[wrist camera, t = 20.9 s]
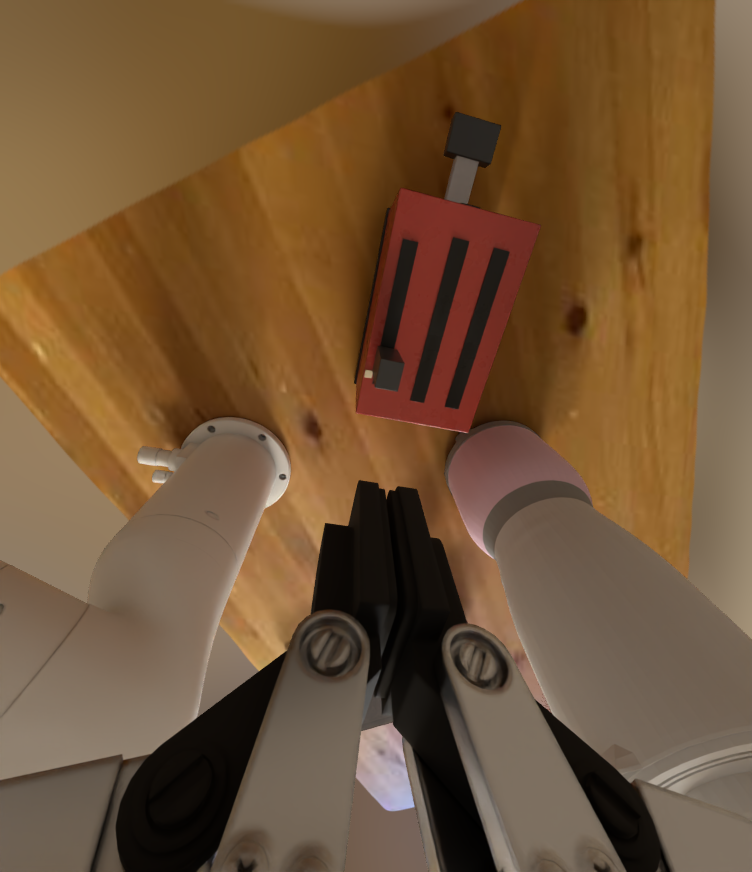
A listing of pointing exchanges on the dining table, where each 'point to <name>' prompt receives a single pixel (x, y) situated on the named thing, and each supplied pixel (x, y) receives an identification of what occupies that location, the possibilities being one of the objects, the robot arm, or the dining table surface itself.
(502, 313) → the toaster
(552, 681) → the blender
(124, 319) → the dining table surface
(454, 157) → the bread lever
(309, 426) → the dining table surface
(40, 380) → the dining table surface
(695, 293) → the dining table surface
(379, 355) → the browning slider
